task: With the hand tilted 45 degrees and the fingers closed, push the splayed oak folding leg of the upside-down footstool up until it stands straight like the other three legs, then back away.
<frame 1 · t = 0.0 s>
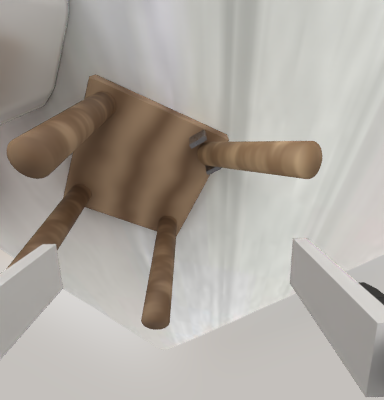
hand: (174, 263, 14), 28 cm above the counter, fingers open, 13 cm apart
footstool: (142, 164, 41), on the counter
hinge bracket: (204, 142, 39), resting on footstool
folding leg: (246, 156, 28), point 11 cm above the counter, hinge at 35.0°
white canister: (4, 23, 31), on the counter
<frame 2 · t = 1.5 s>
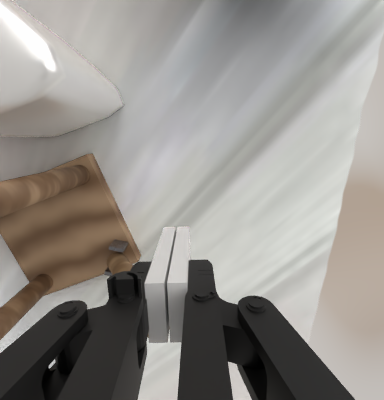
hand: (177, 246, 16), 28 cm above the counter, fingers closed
footstool: (68, 226, 46), on the counter
hinge bracket: (123, 248, 47), resting on footstool
folding leg: (134, 288, 36), point 11 cm above the counter, hinge at 35.0°
white canister: (66, 83, 41), on the counter
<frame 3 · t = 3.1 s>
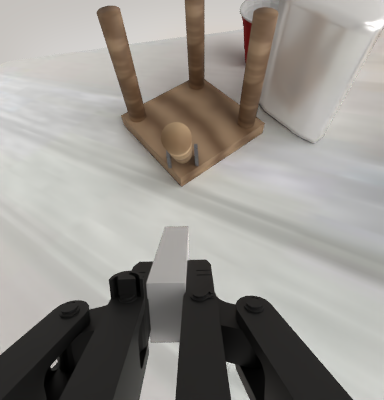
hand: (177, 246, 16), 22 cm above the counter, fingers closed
footstool: (191, 128, 52), on the counter
plastic cup: (256, 63, 63), on the counter
hinge bracket: (184, 170, 47), resting on footstool
folding leg: (180, 147, 34), point 11 cm above the counter, hinge at 35.0°
white canister: (304, 110, 54), on the counter
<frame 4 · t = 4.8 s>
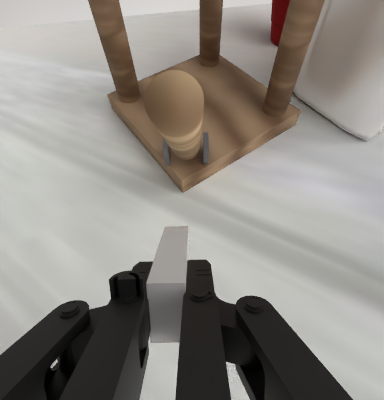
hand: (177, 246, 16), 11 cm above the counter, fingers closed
footstool: (199, 116, 39), on the counter
plastic cup: (284, 41, 50), on the counter
hinge bracket: (187, 170, 34), resting on footstool
folding leg: (182, 131, 22), point 11 cm above the counter, hinge at 35.0°
white canister: (349, 99, 41), on the counter
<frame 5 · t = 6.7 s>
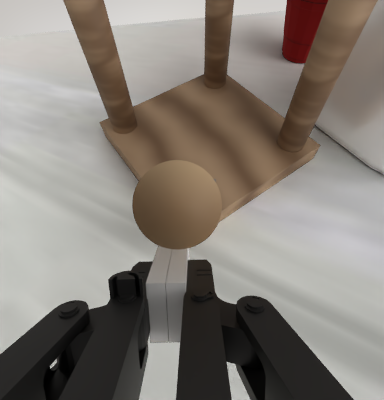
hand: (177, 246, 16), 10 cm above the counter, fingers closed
footstool: (204, 146, 35), on the counter
plastic cup: (297, 55, 45), on the counter
folding leg: (186, 197, 17), point 11 cm above the counter, hinge at 33.1°, touching gripper
white canister: (373, 126, 36), on the counter
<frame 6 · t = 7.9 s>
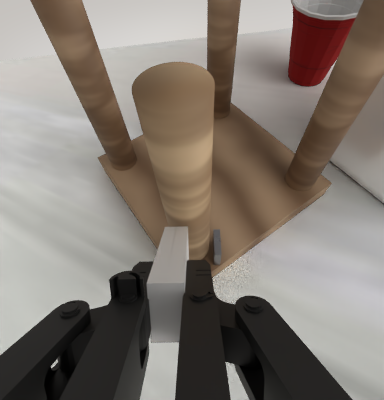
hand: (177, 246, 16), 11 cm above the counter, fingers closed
footstool: (207, 181, 33), on the counter
plastic cup: (304, 77, 43), on the counter
hinge bracket: (193, 261, 27), resting on footstool
folding leg: (186, 197, 17), point 13 cm above the counter, hinge at -1.1°, touching gripper
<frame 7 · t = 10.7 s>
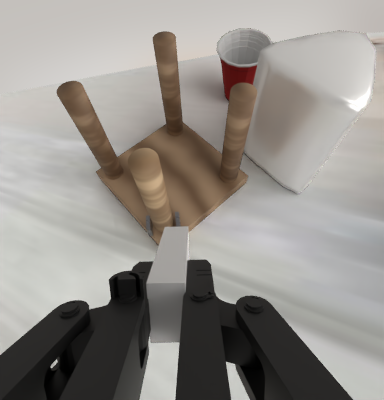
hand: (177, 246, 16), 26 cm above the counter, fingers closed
footstool: (172, 180, 49), on the counter
plastic cup: (236, 96, 60), on the counter
hinge bracket: (166, 232, 44), resting on footstool
folding leg: (155, 197, 33), point 13 cm above the counter, hinge at -1.2°
white canister: (287, 153, 52), on the counter
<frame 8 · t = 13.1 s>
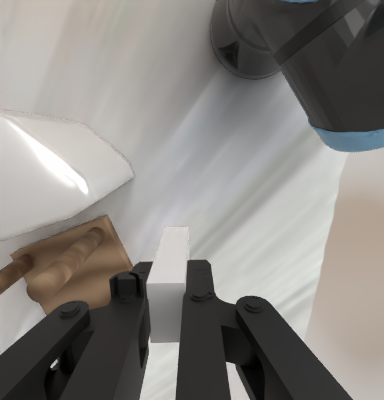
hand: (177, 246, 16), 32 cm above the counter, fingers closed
footstool: (85, 274, 53), on the counter
white canister: (85, 157, 47), on the counter
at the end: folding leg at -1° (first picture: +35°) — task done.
